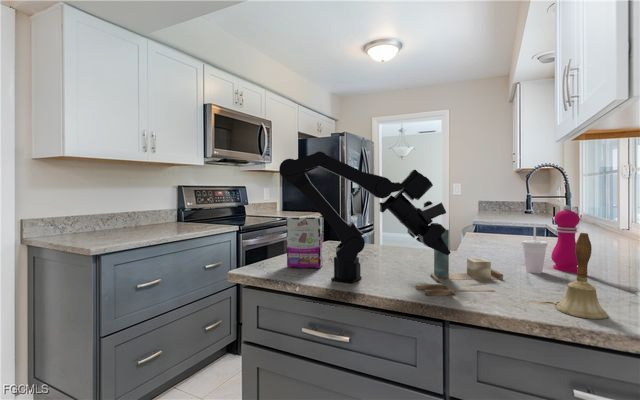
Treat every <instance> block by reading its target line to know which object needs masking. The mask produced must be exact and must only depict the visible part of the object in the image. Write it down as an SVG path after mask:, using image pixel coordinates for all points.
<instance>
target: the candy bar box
mask: <svg viewBox="0 0 640 400" xmlns="http://www.w3.org/2000/svg"><path fill="white" fill-rule="evenodd" d="M285 221H286V268H288V269H289V268H290V269H321V268H322V267H323V265H324V264H323V263H324V258H323V257H324V256H323V255H324V254H323V252H324V251H323V216H322V215H321V216H319V215H318V216H317V215H316V216H315V215H314V216H313V215H312V216H310V215H309V216H306V215H305V216H288V217H286V219H285Z"/></svg>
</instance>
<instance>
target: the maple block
mask: <svg viewBox="0 0 640 400" xmlns="http://www.w3.org/2000/svg"><path fill="white" fill-rule="evenodd" d="M491 269H492V262H491V261H490V260H488V259H486V258H482V257H481V258H479V257H477V258H476V257H475V258H472V257H471V258H466V273H467V275H469V276H470V277H472V278H473V279H491Z"/></svg>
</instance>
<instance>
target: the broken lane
mask: <svg viewBox="0 0 640 400" xmlns="http://www.w3.org/2000/svg"><path fill="white" fill-rule="evenodd" d="M462 286H464V287H471V286H487V284H486V283H484V282H483V283H482V282H481V283H469V284H468V283H467V284H465V283H463V284H462ZM448 287H450V284H449V283H448V284H447V283H446V284H442V283H433V284H432V283H431V284H430V283H427V284H426V283H424V284H422V283H421V284H419V283H418V284H415V289H416V290H417V291H418V290H420V291H422V290H423V291H424V295H425V296H454V297H455V296H456V294H455V293H454V292H458V293H459V292H465V293H466V292H468V293H469V292H473V293H474V292H477V293H478V292H479V293H481V292H482V293H483V292H485V293H486V292H488V293H489V292H490V293H493V292H494V293H495V292H496V290H494V289H449V288H448Z"/></svg>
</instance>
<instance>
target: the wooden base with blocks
mask: <svg viewBox="0 0 640 400" xmlns="http://www.w3.org/2000/svg"><path fill="white" fill-rule="evenodd" d="M445 229H446V231H445V232H444V233H443V234H442V239H443V241H444V242H445V244H446V246H447V247H448V249H449V250H450V229H447V228H445ZM449 255H450V254H449ZM449 255H446V254H443V253H441V252H439V251H437V250H434V249H433V256H434V257H433V261H434V262H433V263H434V264H433V265H434V266H433V272H431V273H430V278H431V279H432V280H433V281H434V282H436V284H442V282H441V281H443V280H444V281H445V280H446V281H447V280H450V281H451V280H455V281H456V280H460V281H461V280H462V281H464V280H467V281H471V280H472V281H474V280H475V281H476V280H478V281H480V280H481V281H483V280H484V281H489V280H490V281H493V280H496V281H502V280H504V274H503V273H501V272H499V271H497V270H496V269H493V268H491V279H473V278H472V277H470V276H469V275H467V272H466V273H459V272H458V273H457V272H456V273H454V272H453V273H449V271H450V267H449V265H450V261H449V260H450V259H449V257H450V256H449ZM440 280H441V281H440Z"/></svg>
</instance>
